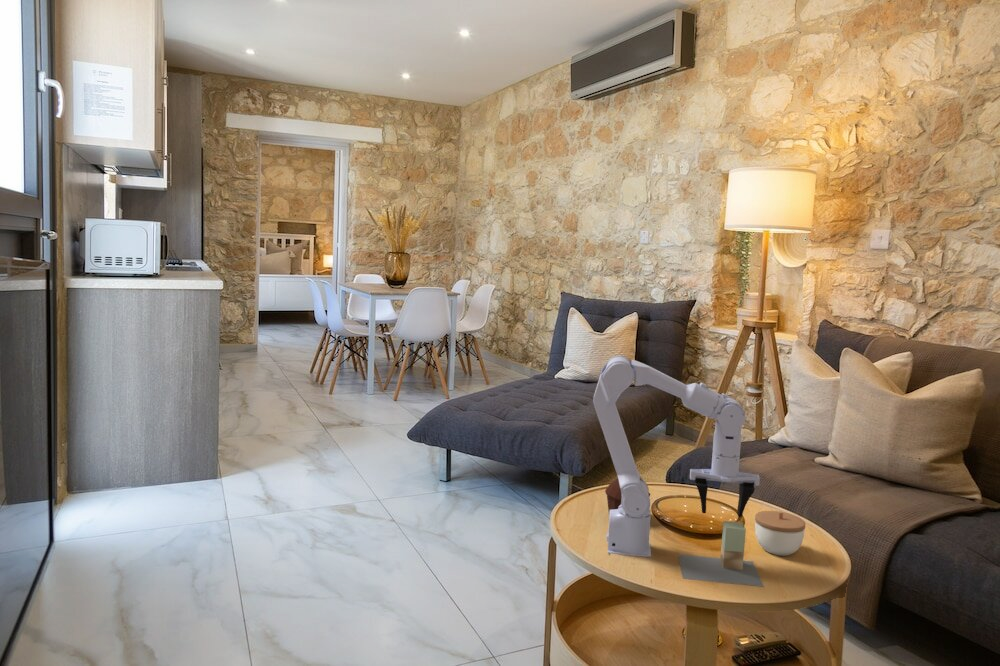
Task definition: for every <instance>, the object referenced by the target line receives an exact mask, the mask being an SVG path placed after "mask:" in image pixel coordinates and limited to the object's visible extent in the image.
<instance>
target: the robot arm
mask: <svg viewBox="0 0 1000 666" xmlns="http://www.w3.org/2000/svg"><path fill="white" fill-rule="evenodd" d="M633 382H634V387H639V386H645V385H649V386H651V387H654V388H656V389H659V390H661V391H663V392H665V393H668V394H670V395H673V396H675V397H677V398H679V399H681V403H682V405H683V406H684V407H685V408H687V409H689V410H691V411H693V412H696V413H698V414H700V415H701V416H704V417H707V418H708V419H716V420H715V427H714V432H713V440H712V441H713V442H712V443H713V444H712V452H711V454H712V457H711V468H697V469H696V468H690V469H689V479H690V480H691V481H694V483H695V485H696V488H697V491H698V494H699V498H700V504H701V513H702V514H706V513H707V496H708V488H709V487H708V481H711V482H721V483H732V484H738V488H739V489H738V491H739V492H738V503H737V508H736V509H737V516H738V518H739V517H740V518H742V517H743V514H744V511H745V508H746V506H747V504H748V502H749V500H750V498H751V496H752V495H753V494H754V493H755V489H756V488H755V487H756V486H757V487H759V486H760V482H761V477H760V476H759V474H753V473H749V472H748V473H747V472H743V471H742V472H741V471H739V469H740V459H741V458H740V456H741V447H742V446H741V445H742V426H743V425H744V424H745V422H746V419H747V416H746V414H745V409H744V408H743V406H741V404H740V403H739V402H738V401H737V400H735V399H734V398H733V397H731V396H728V395H727V394H725V393H723V392H722V393H721V394H720V393H718V392H716V391H714V390H712V389H710V388H707V387H708V386H707V384H706V383H704V382H700V383H697V382H693V383H690V384H685V383H684V382H681V380H677V379H675V378H673V377H671V376H669V375H667V374H666V373H663V372H662V371H660V370H657V369H656V368H655V367H652V366H651V365H650V366H649V365H647V364H646V363H644V362H640V361H638V360H635V359H631V360H630V359H629V358H628V357H626V356H623V355H615V356H614V355H613V356H612V357H611V358H609V359H608V360H607V362H606V363H605V364H604V365H603V367H602V369H601V371H600V374H599V379H598V381H597V384H596V387H595V391H594V394H593V397H592V399H593V400H592V403H593V406H594V409H595V412H596V415H597V419H598V421H599V424H600V428H601V430H602V433H603V436H604V440H605V442H606V445H607V448H608V451H609V453H610V458H611V461H612V463H613V466H614V469H615V472H616V475H617V479H618V480H619V484H620V488H621V493H622V499H621V505H620V506H619V508H618V509H614V510H610V512H609V511H608V517H609V518H608V532H607V533H606V542H607V554H614V555H615V554H616V555H623V556H624V555H625V556H634V557H646V558H651V557H652V552H651V551H652V550H651V543H650V530H651V515H652V512H651V511H652V510H651V509H650V508H651V499H650V497H649V494H648V493H650V492H649V486H648V484H647V482H646V481H645V480H644V479H643V478H642V477H641V474H640V473H639V469H638V466H637V464H636V462H635V459H634V456H633V454H632V450H631V446H630V443H629V441H628V437H627V434H626V432H625V429H624V426H623V423H622V420H621V417H620V414H619V411H618V408H617V405H616V402H617V401H618V399H619V397H620V396H621V394H622V393H623V392H624V391H625V390H626V389H628V388H629V387H630V386H631V385H632V384H633Z"/></svg>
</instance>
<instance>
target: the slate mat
mask: <svg viewBox="0 0 1000 666" xmlns="http://www.w3.org/2000/svg"><path fill="white" fill-rule="evenodd" d="M677 556H678V560H679V561H678V562H679V566H680V571H681V575H682V579H684V580H693V581H701V582H702V581H703V582H712V583H713V582H715V583H723V584H731V585H732V584H733V585H742V586H750V587H751V586H752V587H759V588H760V587H762V588H765V585H764V583H763V580H762V579H761V577H760V575H759V572H758V569H757V568H756V565H755V564H754V561H752V560H751V561H750V560H743V570H737V569H727V568H723V566H722V563H721V561H720V558H721V557H710V556H703V555H702V556H701V555H689V554H679V553H677Z"/></svg>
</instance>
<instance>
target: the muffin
mask: <svg viewBox="0 0 1000 666" xmlns="http://www.w3.org/2000/svg"><path fill="white" fill-rule="evenodd" d="M604 492H605V494H606V499H607V509H608V513H609V512H610V510H614V509H618V508H619V506H620V505H621V499H622V493H621V488H620V484H619V480H618V478H616V479H614V480H612V481H611V482H610V483H609V484H608V485H607V487H606V488H605V490H604ZM648 494H649V498H650V497H651V493H650V492H649V493H648Z"/></svg>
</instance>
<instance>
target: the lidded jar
mask: <svg viewBox="0 0 1000 666" xmlns="http://www.w3.org/2000/svg"><path fill="white" fill-rule="evenodd" d="M805 529H806V522H805V520H804V519H802V518H801V517H799V516H797V515H795V514H792V513H790V512H789V513H788V512H784V511H780V510H779V511H777V510H763V511H758V512H756V513H755V515H754V533H755V538H756V540H757V542H758V545H759V546H761V548H762V549H763V550H764V551H765V552H767V553H769V554H772V555H776V556H780V557H781V556H783V557H784V556H790V555H792V554H794V553H795V552H797V551H798V550H799V548H800V547H801V546H802V543H803V540H804V538H805Z"/></svg>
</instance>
